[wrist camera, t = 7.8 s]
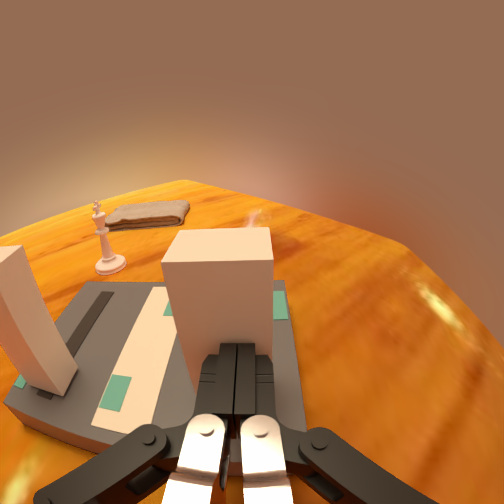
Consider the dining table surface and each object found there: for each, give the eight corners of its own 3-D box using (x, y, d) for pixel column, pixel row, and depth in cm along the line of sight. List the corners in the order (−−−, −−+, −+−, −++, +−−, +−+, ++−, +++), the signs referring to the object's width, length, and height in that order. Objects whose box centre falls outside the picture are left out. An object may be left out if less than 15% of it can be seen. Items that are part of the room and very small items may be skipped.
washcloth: (118, 215, 60) (116, 203, 59) (191, 208, 61) (190, 195, 60) (98, 235, 50) (95, 221, 48) (183, 228, 51) (181, 212, 49)
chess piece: (131, 258, 40) (118, 193, 35) (119, 274, 35) (103, 204, 31) (103, 259, 39) (89, 198, 35) (90, 275, 35) (72, 208, 30)
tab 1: (63, 396, 14) (-9, 270, 9) (27, 384, 14) (-37, 269, 9) (78, 366, 16) (22, 245, 12) (43, 358, 17) (-10, 247, 12)
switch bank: (303, 473, 13) (311, 457, 11) (23, 423, 13) (1, 401, 12) (283, 304, 29) (284, 278, 27) (94, 302, 29) (86, 280, 28)
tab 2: (270, 412, 14) (273, 259, 10) (201, 411, 14) (160, 262, 10) (268, 374, 17) (269, 227, 12) (207, 374, 17) (179, 230, 12)
